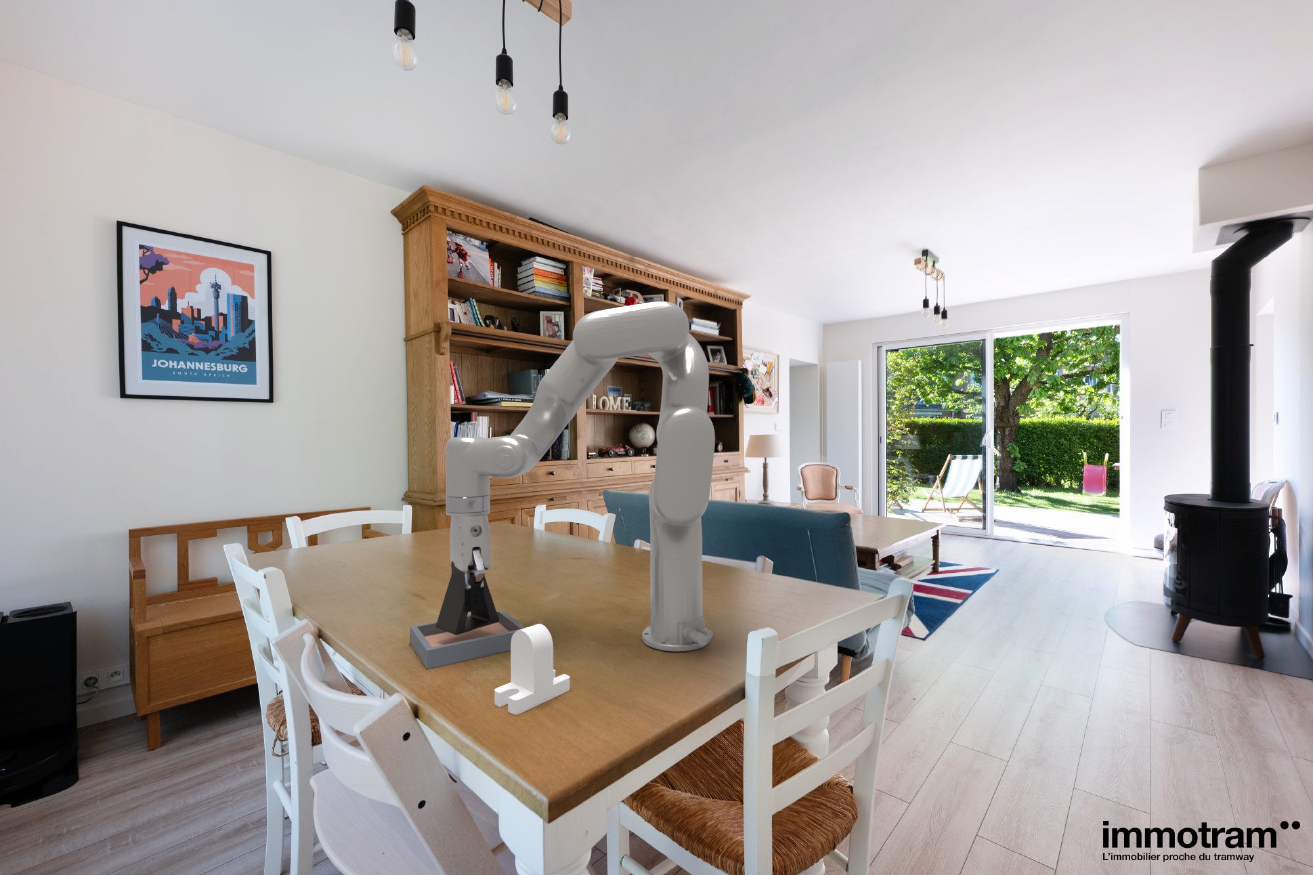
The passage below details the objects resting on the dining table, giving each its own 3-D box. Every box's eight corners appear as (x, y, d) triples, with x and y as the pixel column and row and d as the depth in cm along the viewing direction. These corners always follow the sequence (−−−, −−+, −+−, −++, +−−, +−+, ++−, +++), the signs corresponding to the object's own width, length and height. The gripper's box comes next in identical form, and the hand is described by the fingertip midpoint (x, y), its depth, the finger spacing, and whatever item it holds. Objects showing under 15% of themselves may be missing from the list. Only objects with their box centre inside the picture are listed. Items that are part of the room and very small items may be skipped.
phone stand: (479, 615, 104) (479, 552, 104) (499, 621, 100) (499, 556, 101) (435, 628, 97) (435, 560, 97) (454, 635, 93) (454, 565, 93)
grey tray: (528, 646, 98) (528, 629, 98) (427, 669, 88) (427, 650, 88) (502, 624, 109) (502, 609, 109) (410, 642, 100) (410, 626, 100)
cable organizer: (492, 703, 77) (492, 632, 77) (548, 679, 84) (548, 614, 84) (515, 715, 73) (515, 641, 73) (571, 689, 81) (571, 621, 81)
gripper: (504, 509, 94) (504, 614, 94) (475, 499, 108) (475, 591, 108) (459, 512, 90) (459, 622, 90) (435, 502, 104) (434, 597, 104)
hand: (468, 604), depth 99 cm, fingers closed on phone stand, 6 cm apart
